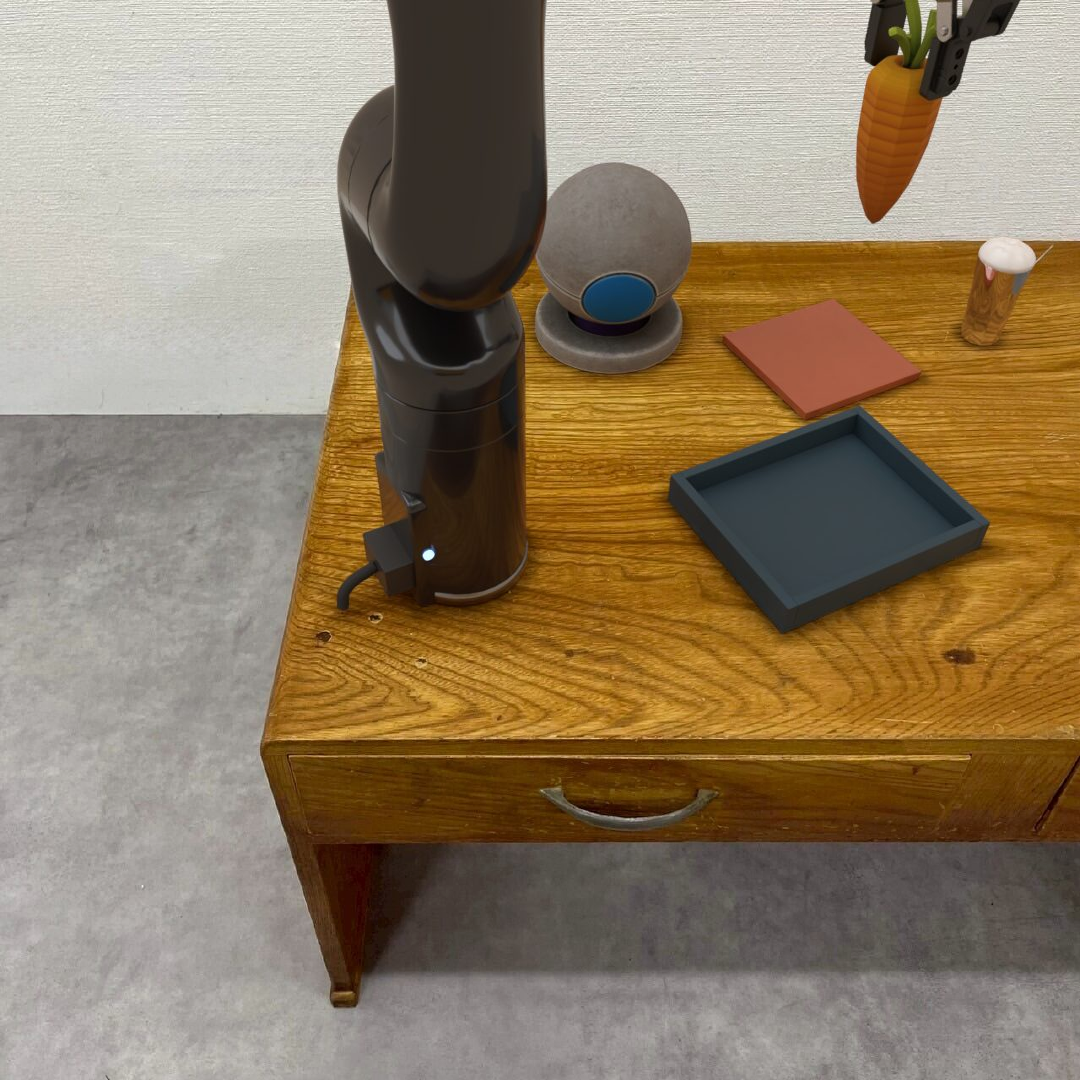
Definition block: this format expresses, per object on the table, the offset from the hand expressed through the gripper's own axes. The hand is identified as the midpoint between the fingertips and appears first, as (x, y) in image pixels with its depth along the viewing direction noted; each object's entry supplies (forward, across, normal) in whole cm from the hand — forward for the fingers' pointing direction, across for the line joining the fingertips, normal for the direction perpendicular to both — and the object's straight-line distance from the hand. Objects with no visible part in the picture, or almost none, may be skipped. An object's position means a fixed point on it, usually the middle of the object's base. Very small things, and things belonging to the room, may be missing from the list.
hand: (907, 77), depth 72 cm
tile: (+28, -6, +4) cm, 28 cm away
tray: (+28, +10, -8) cm, 31 cm away
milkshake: (+28, -2, +18) cm, 34 cm away
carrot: (+11, 0, 0) cm, 11 cm away
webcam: (+28, -18, -11) cm, 35 cm away
